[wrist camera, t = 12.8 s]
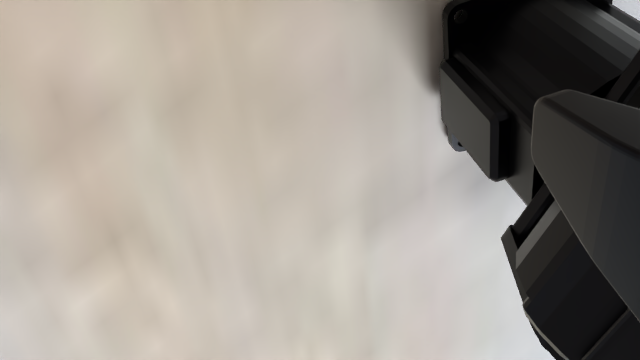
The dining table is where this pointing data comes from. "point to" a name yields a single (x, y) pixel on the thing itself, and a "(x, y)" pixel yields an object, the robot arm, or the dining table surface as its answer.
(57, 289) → the dining table surface
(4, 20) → the dining table surface
